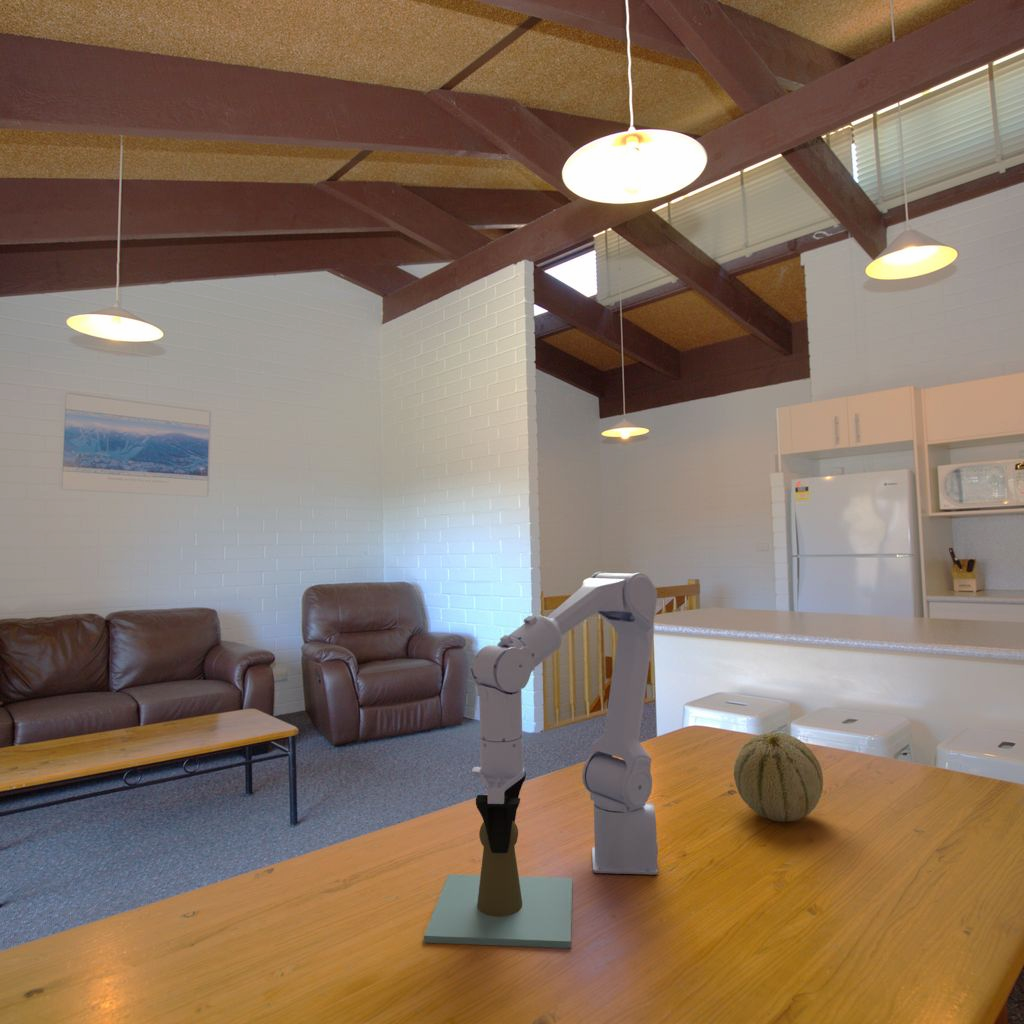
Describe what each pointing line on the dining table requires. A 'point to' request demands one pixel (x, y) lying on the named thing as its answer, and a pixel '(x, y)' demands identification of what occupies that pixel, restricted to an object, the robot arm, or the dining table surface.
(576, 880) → the dining table surface
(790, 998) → the dining table surface
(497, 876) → the olive game pawn
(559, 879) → the teal board
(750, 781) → the cantaloupe
